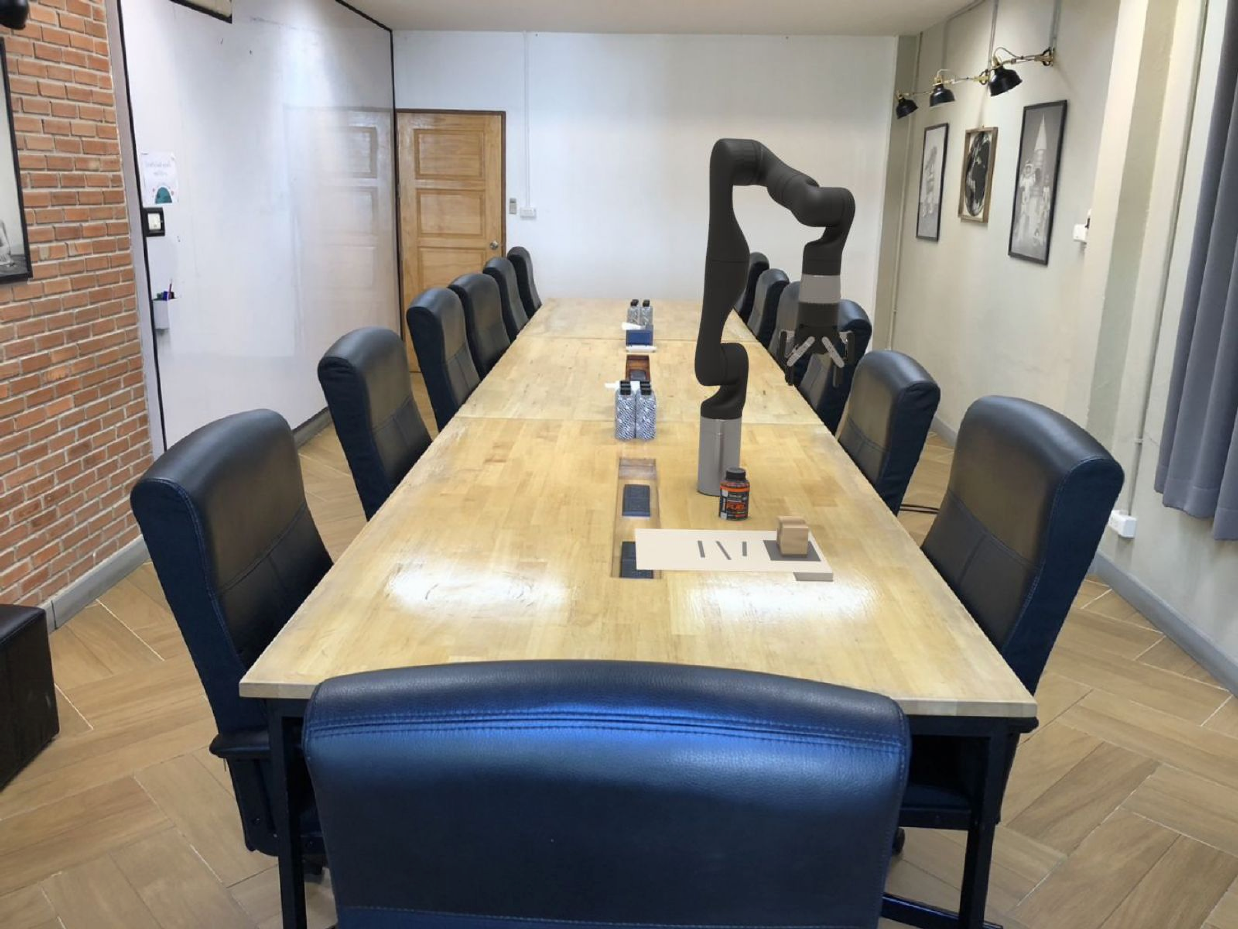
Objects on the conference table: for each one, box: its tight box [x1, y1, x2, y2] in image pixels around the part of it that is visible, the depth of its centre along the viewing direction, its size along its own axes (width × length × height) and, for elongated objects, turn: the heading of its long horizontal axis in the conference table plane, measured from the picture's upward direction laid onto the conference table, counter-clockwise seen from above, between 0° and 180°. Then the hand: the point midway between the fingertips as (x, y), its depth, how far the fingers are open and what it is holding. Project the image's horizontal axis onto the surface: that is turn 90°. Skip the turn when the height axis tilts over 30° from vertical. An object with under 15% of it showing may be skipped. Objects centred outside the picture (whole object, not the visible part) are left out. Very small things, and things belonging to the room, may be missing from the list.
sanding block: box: [776, 515, 810, 557], centre depth 186 cm, size 7×4×6 cm, turn 0°
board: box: [634, 528, 834, 582], centre depth 187 cm, size 22×34×2 cm, turn 90°
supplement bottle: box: [718, 467, 751, 522], centre depth 205 cm, size 6×6×11 cm
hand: (812, 385), depth 192 cm, fingers open, 8 cm apart
